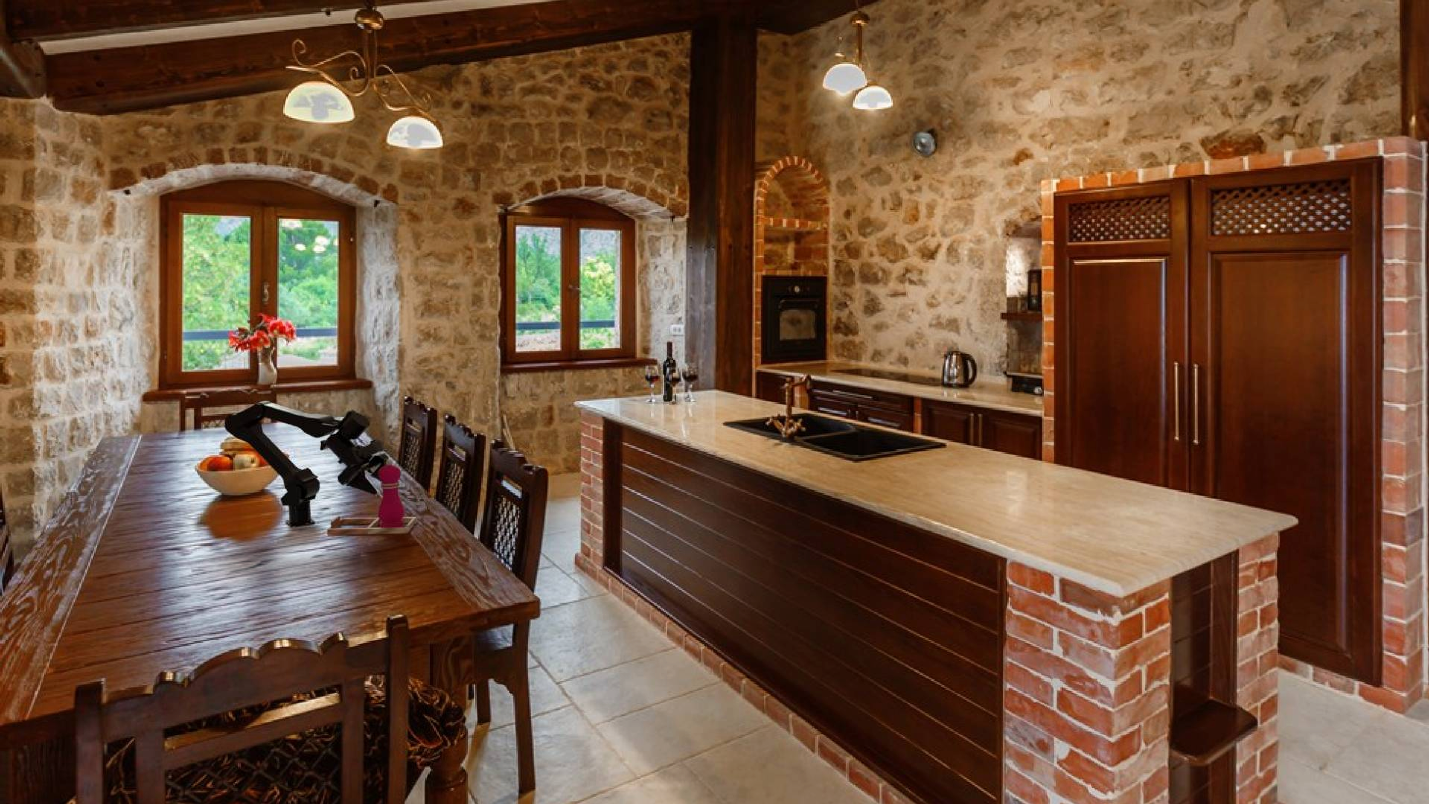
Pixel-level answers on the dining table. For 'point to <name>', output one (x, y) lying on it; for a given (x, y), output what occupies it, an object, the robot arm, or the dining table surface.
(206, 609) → the dining table surface
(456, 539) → the dining table surface
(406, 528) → the rack
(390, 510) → the pepper mill
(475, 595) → the dining table surface
